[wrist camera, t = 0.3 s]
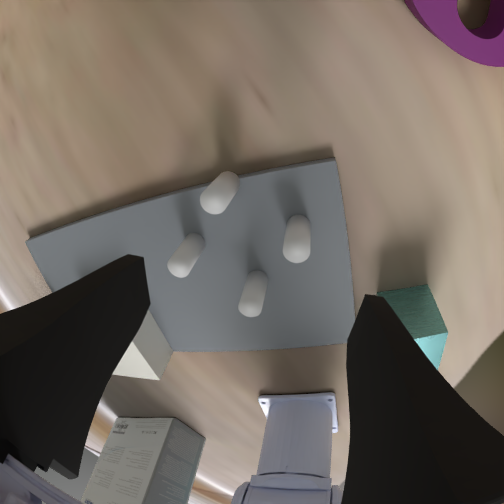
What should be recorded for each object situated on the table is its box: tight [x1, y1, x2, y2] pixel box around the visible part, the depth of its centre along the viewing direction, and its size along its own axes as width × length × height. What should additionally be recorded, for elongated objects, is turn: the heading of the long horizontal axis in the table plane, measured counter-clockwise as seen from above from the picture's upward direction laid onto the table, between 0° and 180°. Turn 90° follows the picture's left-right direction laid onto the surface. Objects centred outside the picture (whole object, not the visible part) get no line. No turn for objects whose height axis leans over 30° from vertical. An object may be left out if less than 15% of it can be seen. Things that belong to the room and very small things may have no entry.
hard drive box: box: [80, 418, 206, 504], centre depth 32 cm, size 16×8×20 cm, turn 122°
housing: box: [113, 309, 173, 380], centre depth 24 cm, size 7×6×4 cm
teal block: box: [377, 284, 448, 370], centre depth 18 cm, size 4×4×5 cm
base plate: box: [25, 157, 355, 352], centre depth 21 cm, size 15×28×4 cm, turn 105°
